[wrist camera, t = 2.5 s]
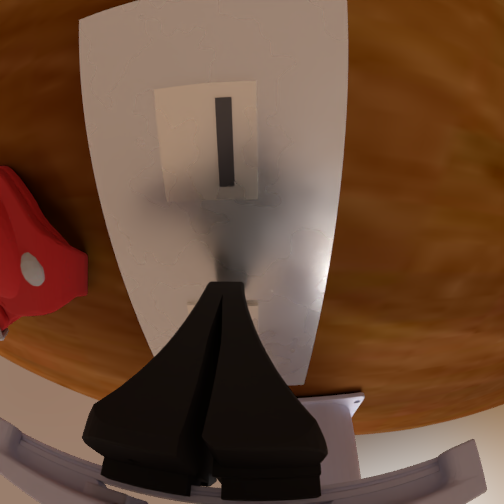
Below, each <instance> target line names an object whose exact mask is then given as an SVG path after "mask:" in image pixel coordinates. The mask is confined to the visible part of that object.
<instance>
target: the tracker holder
mask: <svg viewBox="0 0 504 504" xmlns="http://www.w3.org/2000/svg"><path fill="white" fill-rule="evenodd" d="M87 294H88V255H87V254H86V253H84V252H82V251H80V250H78V249H76V248H74V247H72V246H71V245H69V243H68V242H67V241H66V240H65V239H64V238H63V237H62V236H61V234H60V233H59V232H58V231H57V230H56V229H55V228H54V227H53V226H52V225H51V224H50V223H49V222H48V220H47V219H46V218H45V216H44V215H43V213H42V211H41V210H40V208H39V206H38V203H37V202H36V200H35V199H34V197H33V195H32V194H31V192H30V191H29V190H28V188H27V187H26V185H25V184H24V183H23V181H22V180H21V178H20V177H19V176H18V175H17V174H16V173H15V172H14V171H13V170H12V169H11V168H10V167H8V166H0V341H2V340H3V339H4V338H5V336H6V335H7V333H8V332H9V331H8V328H7V327H8V326H9V325H10V324H12V323H13V322H15V321H16V320H17V319H19V318H20V317H22V316H38V315H46V314H49V313H52V312H55V311H56V310H58V309H59V308H61V307H63V306H64V305H66V304H67V303H68V302H70V301H71V300H72V299H74V298H75V297H78V296H86V295H87ZM2 330H3V331H2Z"/></svg>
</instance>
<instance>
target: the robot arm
mask: <svg viewBox="0 0 504 504" xmlns="http://www.w3.org/2000/svg"><path fill="white" fill-rule="evenodd" d="M364 397H365V396H364V393H362V392H358V393H350V394H342V395H332V396H321V397H308V398H297V397H296V396H295V395H294V394H293V392H292V391H291V390H290V388H289V387H288V385H287V384H286V383H285V381H284V380H283V378H282V377H281V375H280V374H279V372H278V371H277V369H276V368H275V366H274V364H273V363H272V361H271V359H270V358H269V356H268V354H267V352H266V350H265V348H264V346H263V344H262V342H261V340H260V338H259V336H258V333H257V331H256V329H255V326H254V324H253V321H252V318H251V315H250V312H249V309H248V306H247V302H246V297H245V285H244V283H243V282H228V281H210V282H209V283H208V284H207V286H206V288H205V290H204V292H203V293H202V295H201V297H200V298H199V300H198V302H197V303H196V305H195V306H194V308H193V309H192V311H191V312H190V314H189V315H188V317H187V318H186V320H185V321H184V322H183V324H182V325H181V326H180V328H179V329H178V330H177V332H176V333H175V334H174V336H173V337H172V338H171V339H170V340H169V342H168V343H167V344H166V345H165V346H164V347H163V348H162V349H161V351H160V352H159V353H158V354H157V355H156V356H155V357H154V358H153V359H152V360H151V361H150V362H149V363H148V364H147V365H146V366H145V367H143V368H142V369H141V370H140V371H139V372H138V373H137V374H135V375H134V376H133V377H132V378H130V379H129V380H128V381H127V382H126V383H124V384H123V385H122V386H121V387H119V388H118V389H116V390H115V391H114V392H112V393H111V394H109V395H107V396H106V397H104V398H103V399H101V400H100V401H98V402H97V403H95V404H94V405H93V407H92V409H91V411H90V413H89V416H88V419H87V422H86V426H85V429H84V432H83V436H82V439H83V440H84V442H85V443H86V444H87V445H88V446H89V447H91V448H92V449H93V450H95V451H96V452H98V453H100V454H101V455H103V456H104V461H103V465H102V466H101V465H97V464H95V463H91V462H89V461H86V460H83V459H80V458H78V457H75V456H72V455H70V454H67V453H65V452H62V451H60V450H57V449H55V448H53V447H51V446H48V445H46V444H44V443H42V442H40V441H38V440H35V439H33V438H31V437H29V436H27V435H25V434H24V433H22V432H21V431H20V430H19V429H18V428H16V427H15V426H13V425H12V424H11V423H9V422H7V421H6V420H4V419H2V418H0V474H1V475H2V476H4V477H5V478H6V479H8V480H9V481H10V482H12V483H13V484H14V485H15V486H17V487H18V488H19V489H21V490H22V491H23V492H25V493H26V494H27V495H29V496H30V497H32V498H33V499H35V500H36V501H38V502H39V503H41V504H148V503H147V502H146V501H143V500H140V499H136V498H134V497H131V496H128V495H126V494H124V493H120V492H117V491H114V490H111V489H108V488H107V487H106V485H105V484H108V485H112V486H115V487H118V488H121V489H125V490H129V491H133V492H136V493H140V494H145V495H149V496H154V497H158V498H164V499H169V500H175V501H181V502H188V503H196V504H466V503H467V502H469V501H471V500H473V499H474V498H476V497H478V496H480V495H481V494H483V493H485V492H486V490H487V487H486V482H485V478H484V473H483V469H482V465H481V461H480V457H479V454H478V450H477V447H476V443H475V440H474V439H472V440H469V441H467V442H465V443H462V444H460V445H458V446H455V447H453V448H451V449H449V450H447V451H445V452H443V453H442V454H440V455H439V456H438V457H436V458H434V459H431V460H428V461H426V462H422V463H420V464H417V465H413V466H410V467H407V468H404V469H400V470H397V471H393V472H389V473H385V474H382V475H378V476H373V477H369V478H364V479H361V476H360V469H359V461H358V455H357V449H356V442H355V436H354V430H353V424H352V419H351V417H352V416H353V414H354V413H355V411H356V410H357V408H358V407H359V405H360V404H361V402H362V401H363V399H364ZM217 479H218V480H219V482H220V483H221V484H222V486H221V488H212V487H208V486H211V485H212V484H214V483H215V482H216V481H217ZM104 483H105V484H104ZM202 486H207V487H202Z"/></svg>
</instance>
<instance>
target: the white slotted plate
mask: <svg viewBox="0 0 504 504" xmlns="http://www.w3.org/2000/svg"><path fill="white" fill-rule="evenodd" d="M79 58H80V77H81V89H82V100H83V109H84V117H85V124H86V131H87V138H88V144H89V150H90V156H91V161H92V166H93V171H94V176H95V181H96V185H97V190H98V194H99V198H100V202H101V206H102V210H103V214H104V218H105V222H106V226H107V229H108V233H109V236H110V240H111V243H112V246H113V250H114V253H115V256H116V259H117V262H118V266H119V269H120V272H121V275H122V277H123V280H124V283H125V286H126V289H127V292H128V294H129V297H130V300H131V303H132V305H133V308H134V310H135V313H136V315H137V318H138V320H139V323H140V325H141V328H142V330H143V333H144V335H145V337H146V340H147V342H148V344H149V347H150V349H151V351H152V353H153V356H154V357H155V356H156V355H157V354H158V353H159V352H160V351H161V349H162V348H163V347H164V346H165V345H166V344H167V343H168V342H169V340H170V339H171V338H172V337H173V336H174V334H175V333H176V332H177V330H178V329H179V328H180V326H181V325H182V324H183V322H184V321H185V320H186V318H187V317H188V315H189V314H190V312H191V311H192V309H193V308H194V306H195V305H196V303H197V302H198V300H199V298H200V297H201V295H202V293H203V292H204V290H205V288H206V286H207V284H208V283H209V282H210V281H228V282H243V283H244V285H245V297H246V302H247V306H248V309H249V312H250V315H251V318H252V321H253V324H254V326H255V329H256V331H257V333H258V336H259V338H260V340H261V342H262V344H263V346H264V348H265V350H266V352H267V354H268V356H269V358H270V359H271V361H272V363H273V364H274V366H275V368H276V369H277V371H278V372H279V374H280V375H281V377H282V378H283V380H284V381H285V383H286V384H287V385H304V382H305V378H306V374H307V370H308V366H309V362H310V358H311V354H312V349H313V345H314V341H315V336H316V331H317V327H318V322H319V317H320V312H321V307H322V302H323V297H324V292H325V287H326V281H327V276H328V270H329V264H330V258H331V252H332V245H333V239H334V232H335V225H336V217H337V210H338V202H339V193H340V185H341V175H342V165H343V154H344V142H345V128H346V111H347V88H348V17H347V0H138V1H134V2H130V3H127V4H123V5H120V6H117V7H114V8H111V9H108V10H105V11H102V12H99V13H96V14H93V15H91V16H88V17H85V18H83V19H80V20H79Z"/></svg>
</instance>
